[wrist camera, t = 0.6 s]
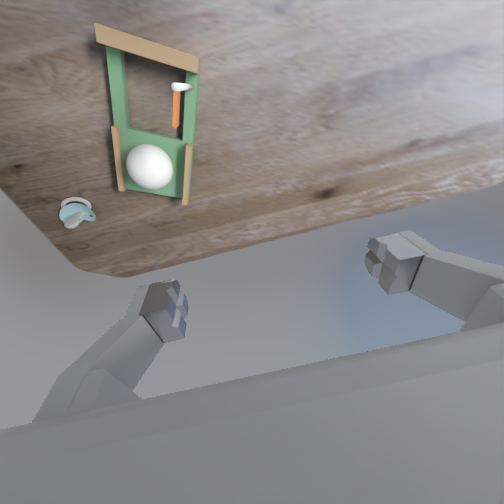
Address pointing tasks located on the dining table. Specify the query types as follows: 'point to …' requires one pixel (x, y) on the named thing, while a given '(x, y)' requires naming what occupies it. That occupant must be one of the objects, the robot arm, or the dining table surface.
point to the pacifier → (75, 212)
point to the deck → (132, 137)
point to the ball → (149, 166)
